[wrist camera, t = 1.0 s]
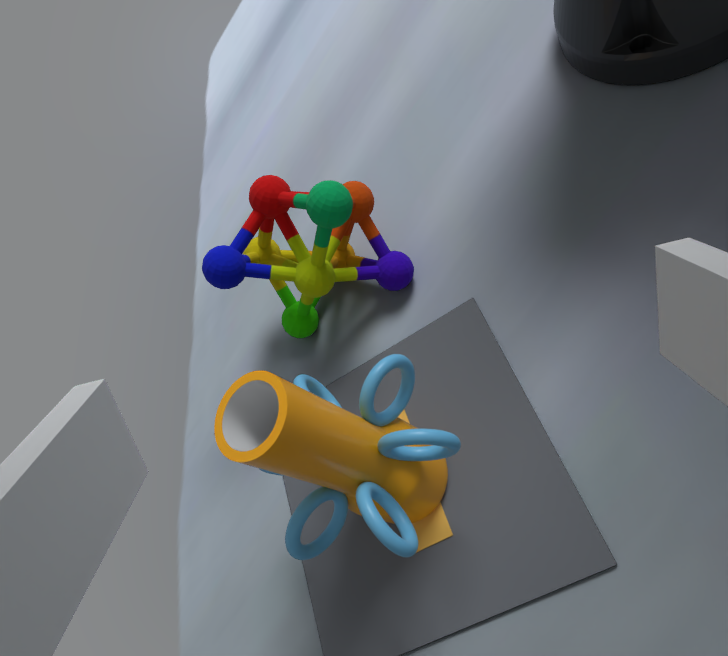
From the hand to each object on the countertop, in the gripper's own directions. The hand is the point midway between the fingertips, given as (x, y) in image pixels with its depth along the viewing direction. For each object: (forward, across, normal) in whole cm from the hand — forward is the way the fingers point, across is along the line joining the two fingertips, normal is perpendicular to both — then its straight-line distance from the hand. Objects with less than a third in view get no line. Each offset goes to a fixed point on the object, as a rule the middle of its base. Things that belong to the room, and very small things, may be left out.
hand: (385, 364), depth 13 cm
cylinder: (+18, -1, -17) cm, 24 cm away
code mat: (+18, -1, -17) cm, 24 cm away
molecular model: (+31, -2, -8) cm, 32 cm away
